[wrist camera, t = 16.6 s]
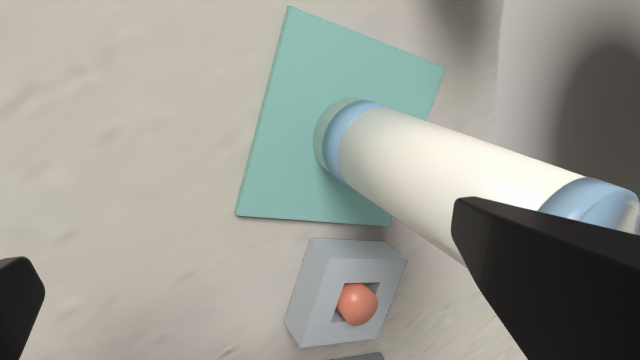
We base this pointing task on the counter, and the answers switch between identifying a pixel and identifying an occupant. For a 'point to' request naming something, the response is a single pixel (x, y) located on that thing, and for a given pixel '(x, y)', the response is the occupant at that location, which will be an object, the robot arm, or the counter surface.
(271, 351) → the counter surface
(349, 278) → the block
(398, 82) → the rubber mat
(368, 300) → the release button
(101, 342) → the counter surface
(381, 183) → the cartridge
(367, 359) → the port plate
